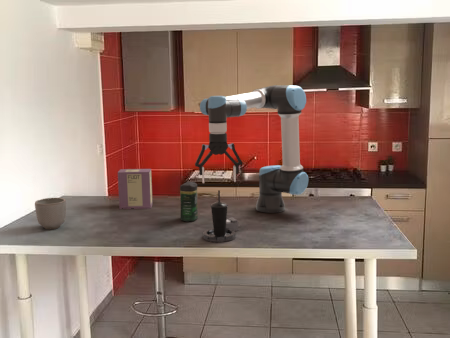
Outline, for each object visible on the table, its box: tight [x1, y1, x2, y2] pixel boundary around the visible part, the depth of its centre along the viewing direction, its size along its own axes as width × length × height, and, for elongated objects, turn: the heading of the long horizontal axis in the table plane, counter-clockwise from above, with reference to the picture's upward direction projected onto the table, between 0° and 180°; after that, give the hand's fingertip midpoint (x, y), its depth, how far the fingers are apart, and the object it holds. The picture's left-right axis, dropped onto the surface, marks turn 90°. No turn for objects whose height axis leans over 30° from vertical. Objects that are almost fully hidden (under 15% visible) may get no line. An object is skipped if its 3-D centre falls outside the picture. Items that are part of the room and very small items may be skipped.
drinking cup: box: [210, 190, 229, 236], centre depth 228 cm, size 8×8×20 cm
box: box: [117, 168, 153, 210], centre depth 284 cm, size 17×9×20 cm, turn 92°
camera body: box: [226, 216, 239, 232], centre depth 241 cm, size 8×6×5 cm
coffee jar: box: [179, 181, 199, 222], centre depth 258 cm, size 10×8×19 cm
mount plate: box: [202, 227, 237, 243], centre depth 230 cm, size 14×14×2 cm
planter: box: [34, 197, 67, 231], centre depth 247 cm, size 14×14×13 cm
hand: (219, 181), depth 226 cm, fingers open, 13 cm apart
